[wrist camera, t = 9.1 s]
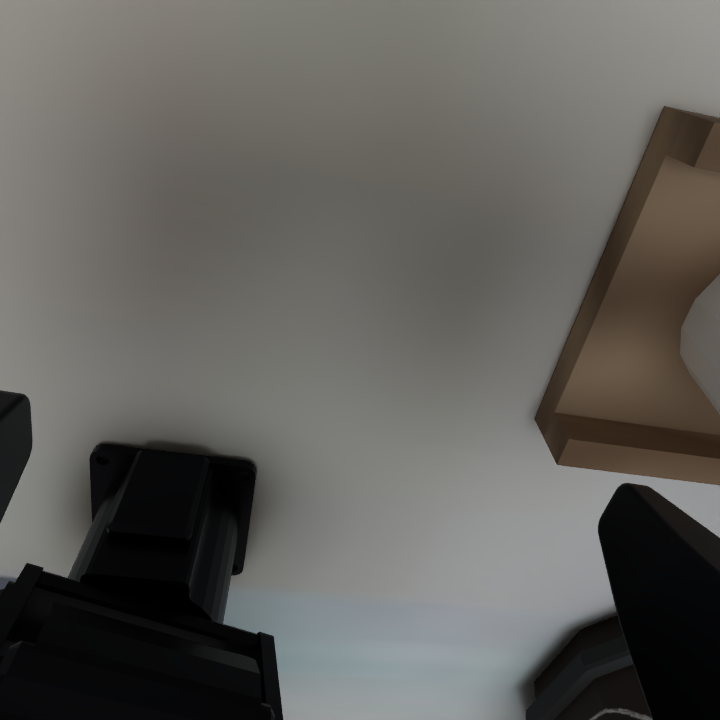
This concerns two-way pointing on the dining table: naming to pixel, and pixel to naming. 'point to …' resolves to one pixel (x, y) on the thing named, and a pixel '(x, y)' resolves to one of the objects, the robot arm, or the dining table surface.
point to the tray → (646, 322)
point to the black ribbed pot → (591, 680)
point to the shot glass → (704, 342)
